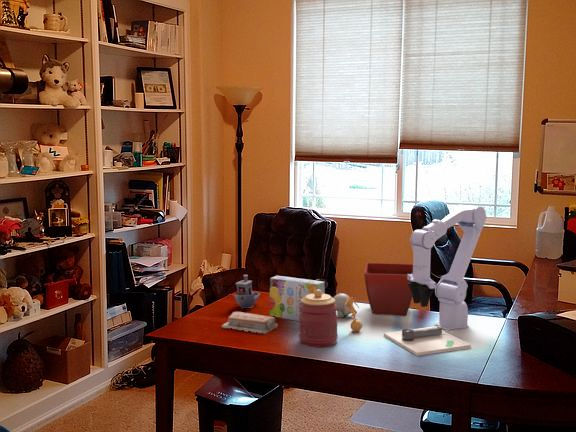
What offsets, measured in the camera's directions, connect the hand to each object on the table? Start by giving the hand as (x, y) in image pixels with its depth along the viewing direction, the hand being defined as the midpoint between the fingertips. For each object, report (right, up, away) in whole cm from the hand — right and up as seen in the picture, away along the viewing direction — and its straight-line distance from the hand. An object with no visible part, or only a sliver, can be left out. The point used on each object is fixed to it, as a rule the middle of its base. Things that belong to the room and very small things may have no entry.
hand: (420, 304), depth 220 cm
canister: (-35, -12, -5) cm, 37 cm away
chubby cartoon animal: (-26, -8, +25) cm, 37 cm away
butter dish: (-59, -10, +11) cm, 61 cm away
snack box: (-42, -8, +21) cm, 47 cm away
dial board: (+1, -11, -6) cm, 13 cm away
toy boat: (-62, -6, +37) cm, 72 cm away
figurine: (-22, -10, +6) cm, 25 cm away
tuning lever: (-1, -10, -5) cm, 11 cm away
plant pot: (-6, -7, +30) cm, 31 cm away
